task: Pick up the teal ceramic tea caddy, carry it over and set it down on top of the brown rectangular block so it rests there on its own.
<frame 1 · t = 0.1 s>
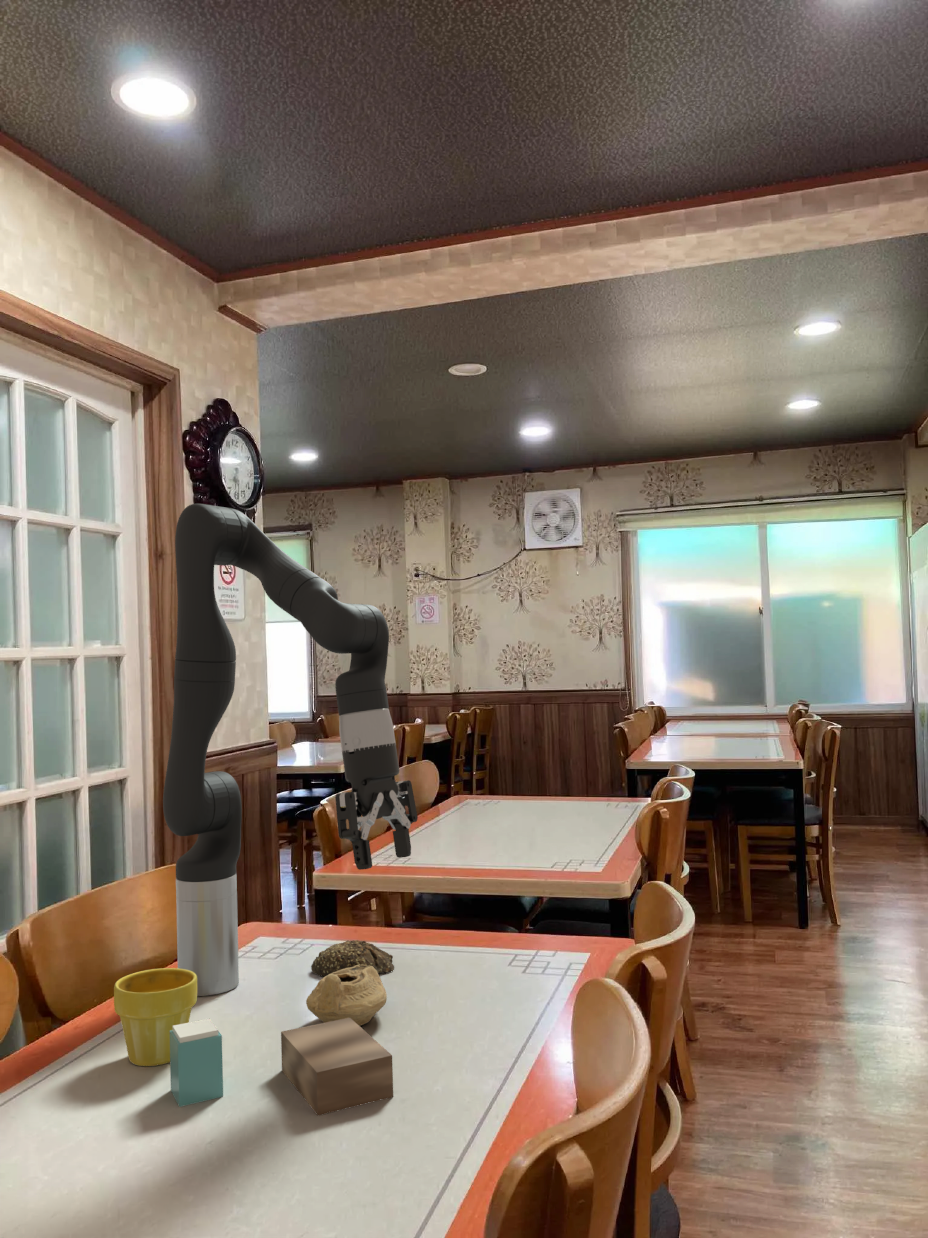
hand: (384, 862, 134), 22 cm above the table, tool pointing down, fingers open, 8 cm apart
oil lamp: (349, 1020, 137), on the table
bread roll: (356, 971, 160), on the table
tea caddy: (196, 1094, 115), on the table
brown rectangular block: (335, 1086, 116), on the table
plant pot: (157, 1058, 126), on the table
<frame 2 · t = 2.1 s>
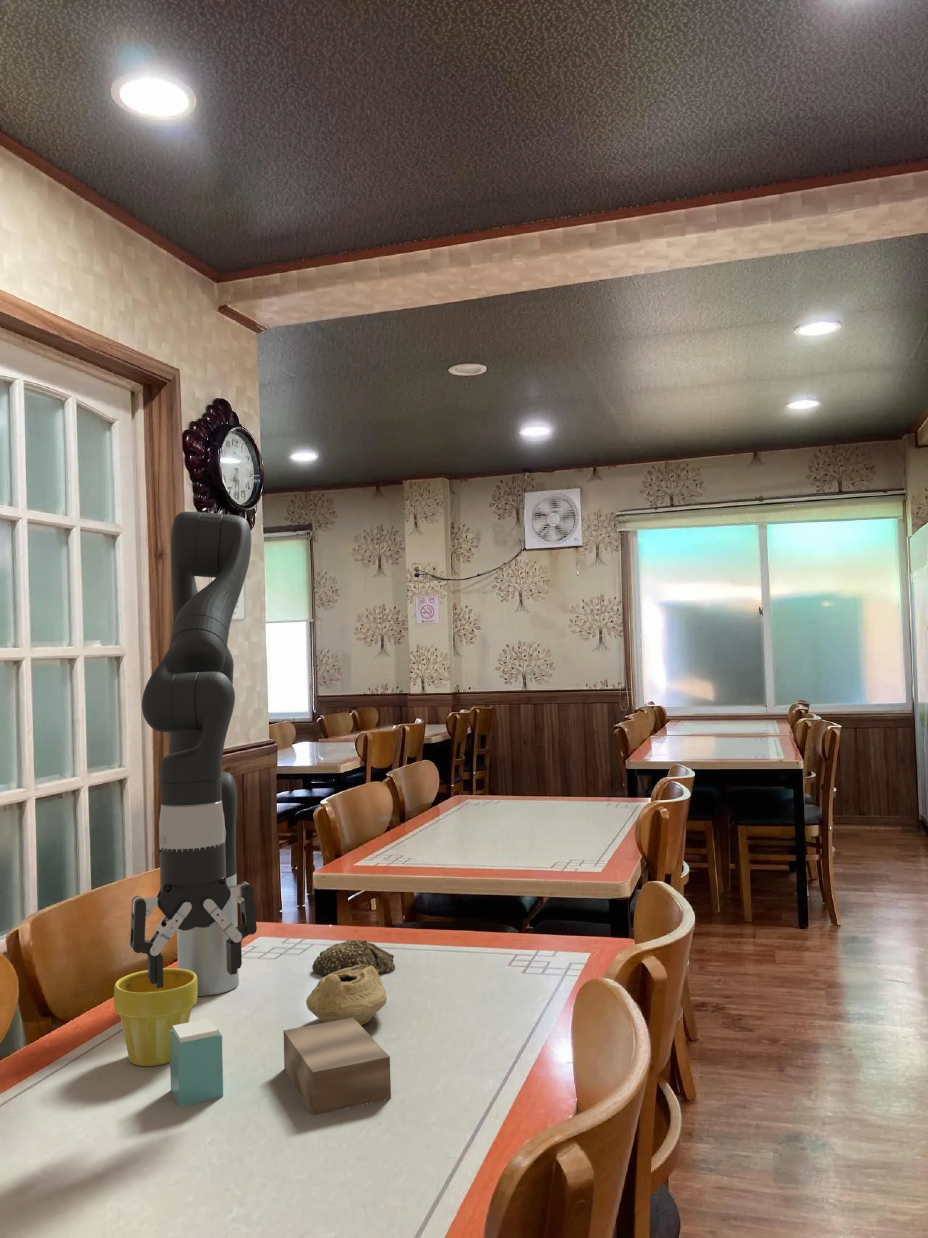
hand: (195, 979, 115), 13 cm above the table, tool pointing down, fingers open, 8 cm apart
nothing on the table moved.
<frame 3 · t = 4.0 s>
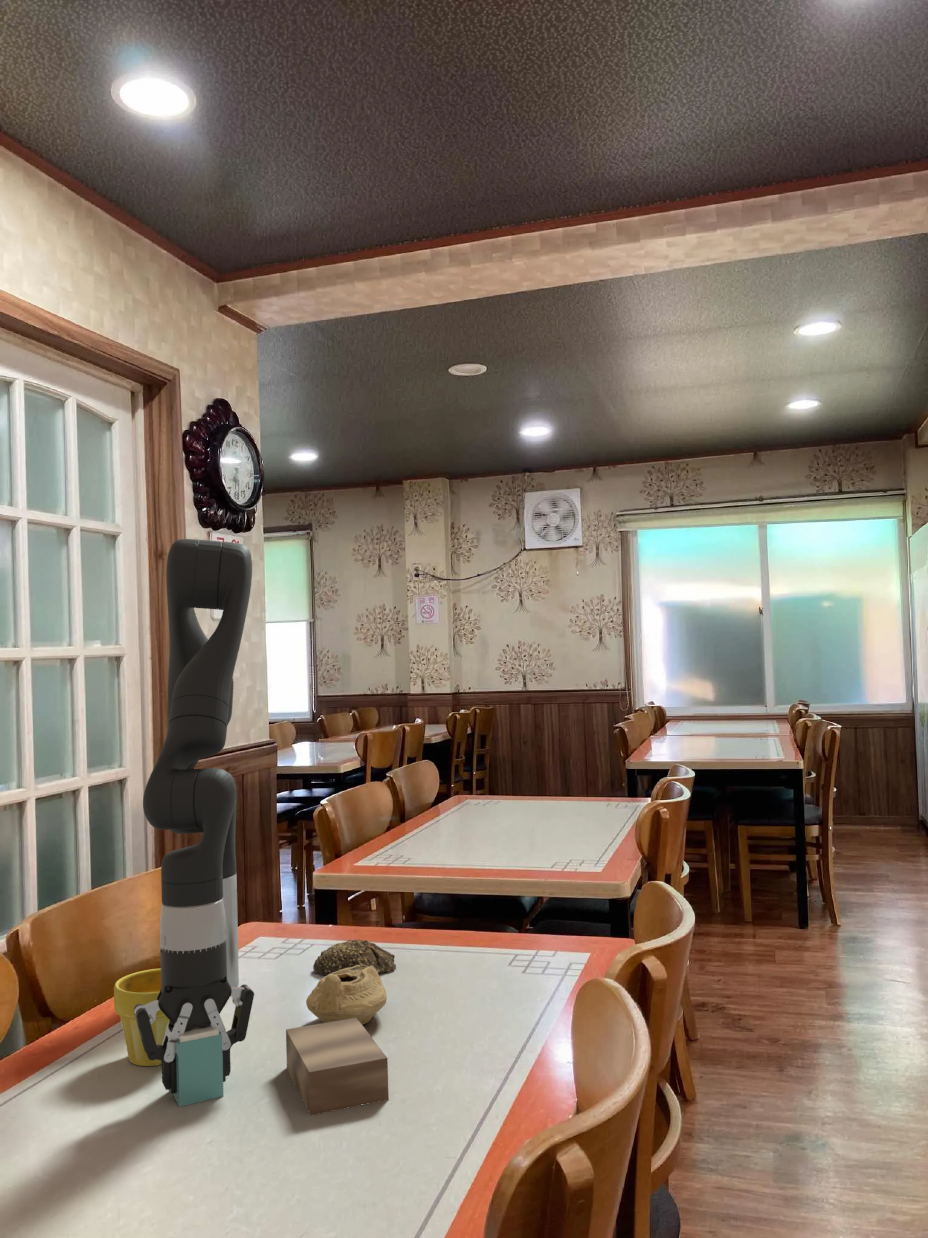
hand: (196, 1085, 115), 1 cm above the table, tool pointing down, fingers closed on tea caddy, 5 cm apart
tea caddy: (196, 1093, 115), on the table, touching gripper
everything else where it was.
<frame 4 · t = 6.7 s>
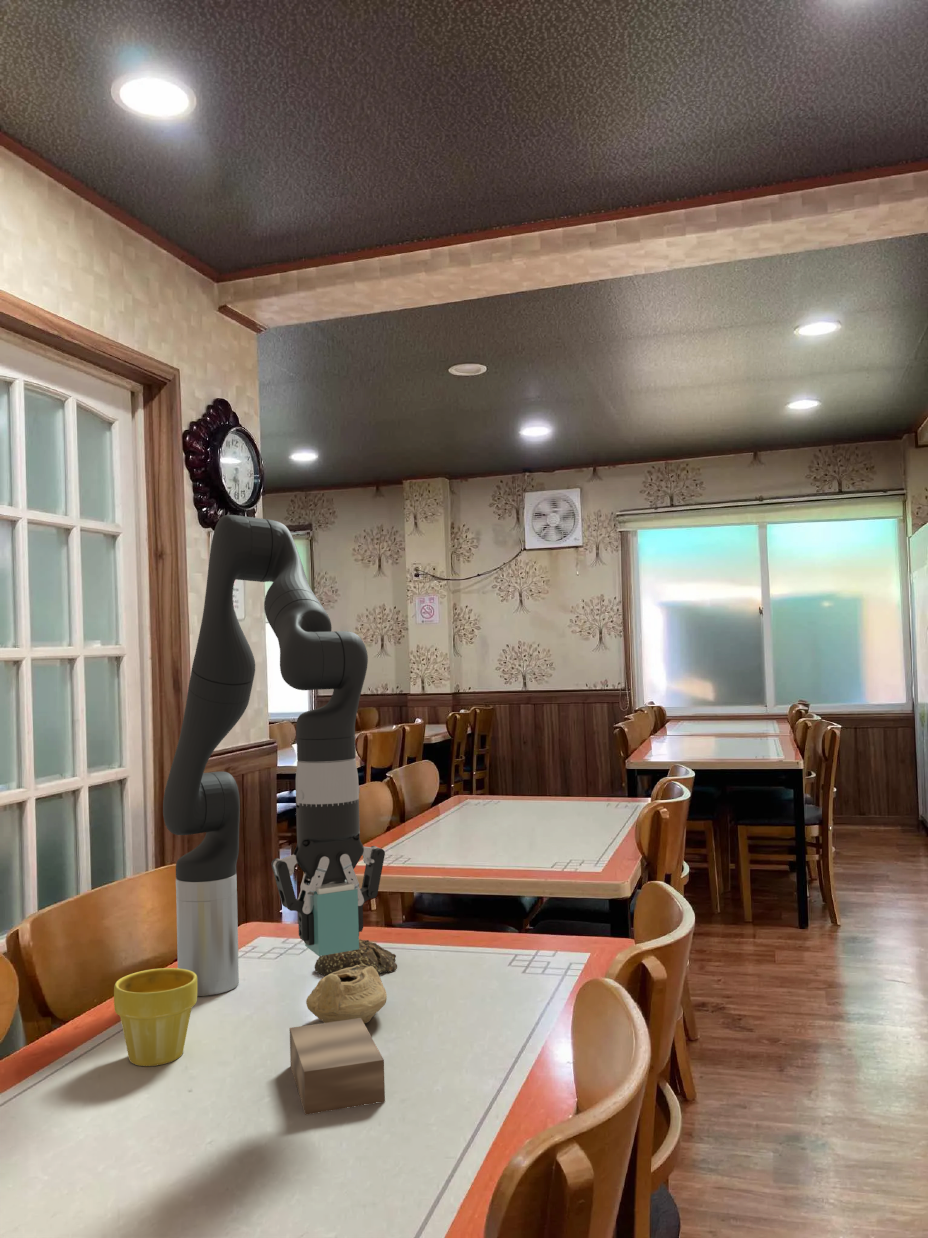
hand: (331, 939, 117), 17 cm above the table, tool pointing down, fingers closed on tea caddy, 5 cm apart
tea caddy: (331, 947, 117), point 16 cm above the table, touching gripper
everything else where it was.
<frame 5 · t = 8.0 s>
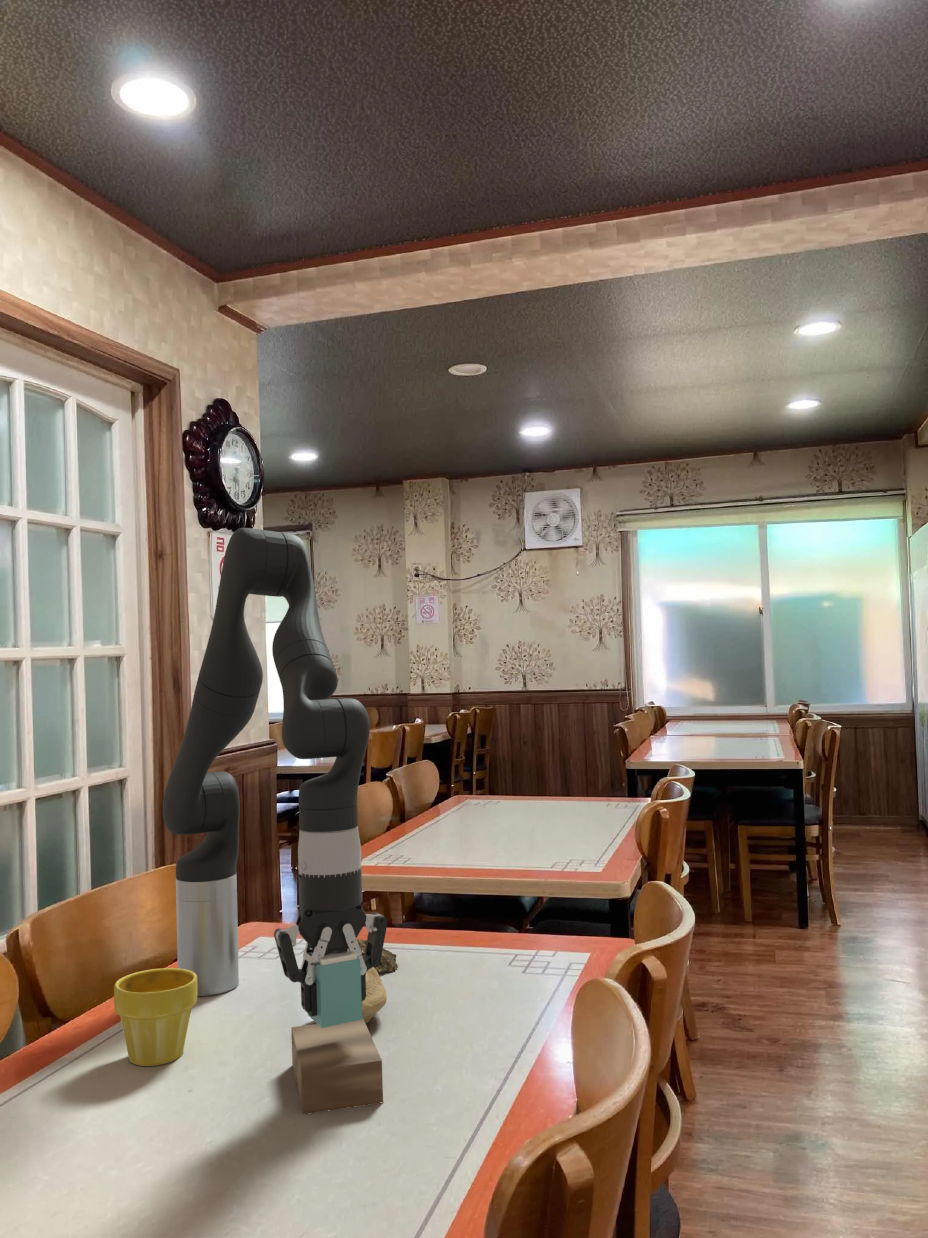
hand: (334, 1009, 117), 9 cm above the table, tool pointing down, fingers closed on tea caddy, 5 cm apart
tea caddy: (334, 1017, 117), point 8 cm above the table, touching gripper
everything else where it was.
when the fingers open (7 cm above the table, at t = 9.3 s): tea caddy drops 1 cm, resting on brown rectangular block.
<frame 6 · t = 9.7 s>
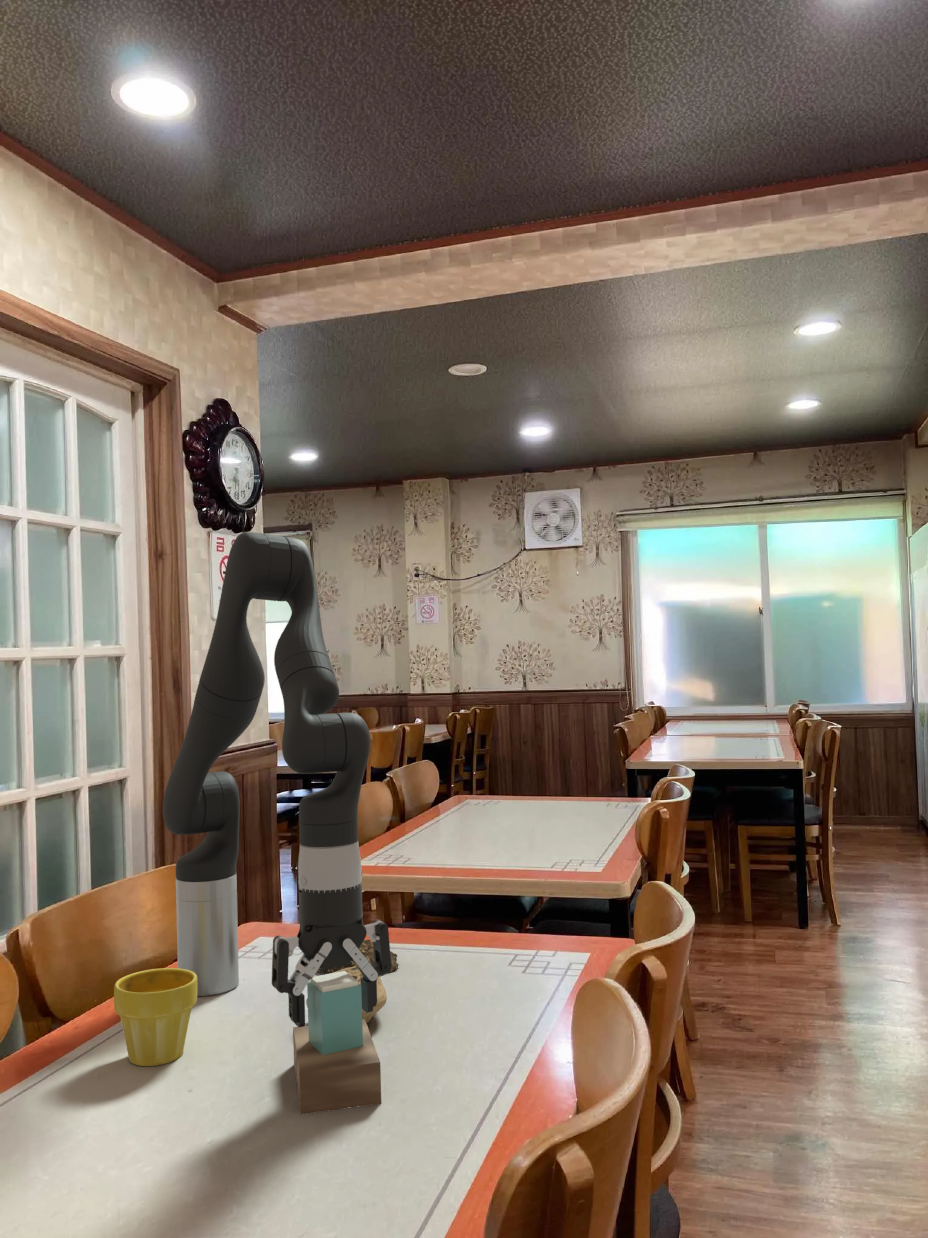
hand: (333, 1018, 117), 8 cm above the table, tool pointing down, fingers open, 8 cm apart
tea caddy: (335, 1043, 117), point 5 cm above the table, touching brown rectangular block
brown rectangular block: (335, 1086, 116), on the table, touching tea caddy
everything else where it was.
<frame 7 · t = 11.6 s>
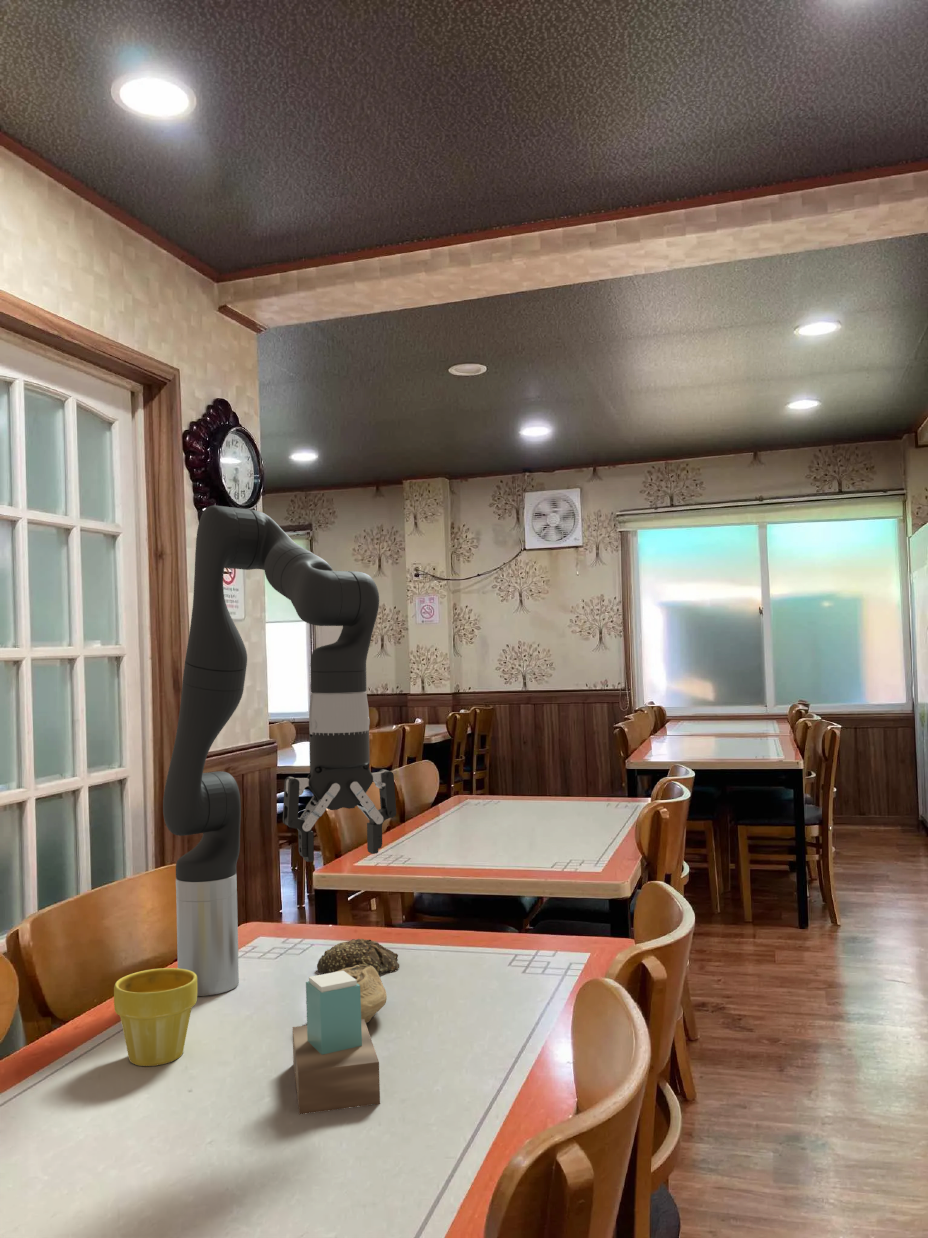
hand: (341, 856, 124), 25 cm above the table, tool pointing down, fingers open, 8 cm apart
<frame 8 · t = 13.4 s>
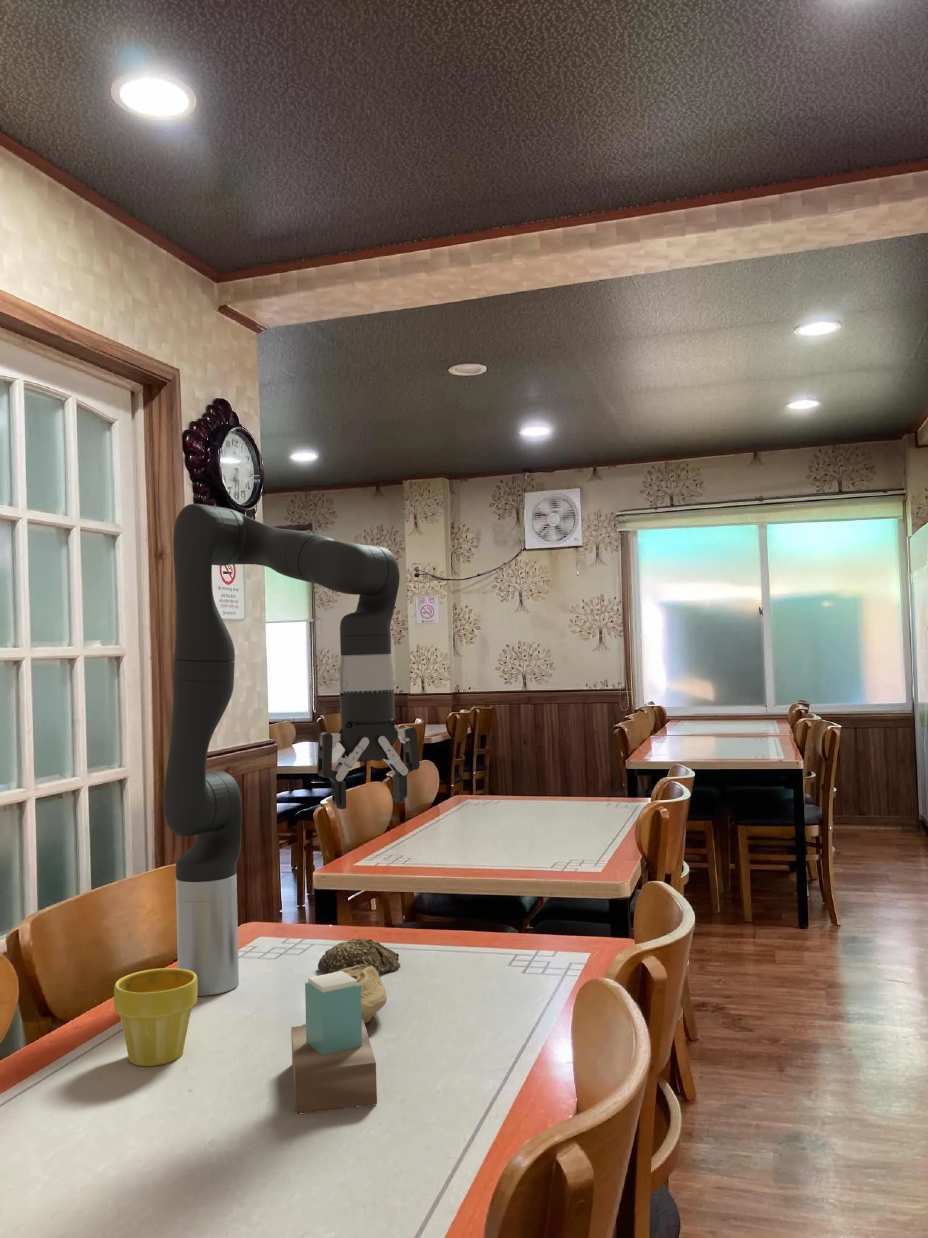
hand: (370, 805, 135), 30 cm above the table, tool pointing down, fingers open, 8 cm apart
at the end: tea caddy inside the target area on the brown rectangular block (0.2 cm from its centre), point 5.0 cm above the brown rectangular block's base; tea caddy tilted 0°; the gripper is holding nothing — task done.
